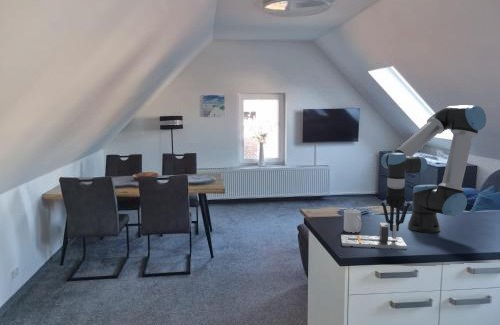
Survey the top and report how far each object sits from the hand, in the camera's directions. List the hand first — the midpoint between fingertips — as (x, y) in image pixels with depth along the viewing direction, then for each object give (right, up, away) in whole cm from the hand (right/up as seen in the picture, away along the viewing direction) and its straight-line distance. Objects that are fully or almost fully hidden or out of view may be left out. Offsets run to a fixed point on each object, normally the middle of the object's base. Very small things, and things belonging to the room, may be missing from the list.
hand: (393, 237), depth 191 cm
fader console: (-9, -3, +2) cm, 10 cm away
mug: (-13, -1, +21) cm, 25 cm away
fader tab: (-4, -1, +1) cm, 5 cm away
